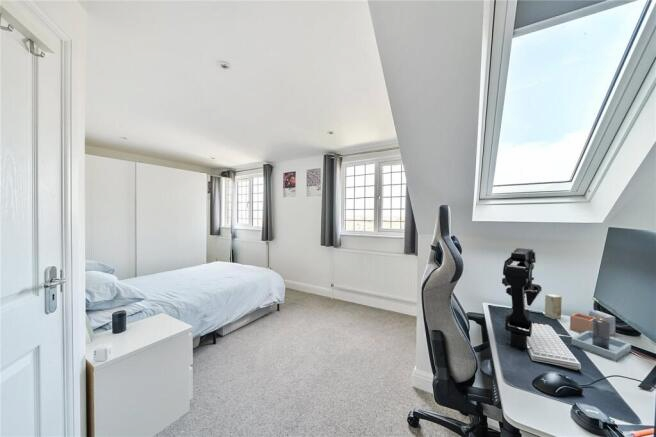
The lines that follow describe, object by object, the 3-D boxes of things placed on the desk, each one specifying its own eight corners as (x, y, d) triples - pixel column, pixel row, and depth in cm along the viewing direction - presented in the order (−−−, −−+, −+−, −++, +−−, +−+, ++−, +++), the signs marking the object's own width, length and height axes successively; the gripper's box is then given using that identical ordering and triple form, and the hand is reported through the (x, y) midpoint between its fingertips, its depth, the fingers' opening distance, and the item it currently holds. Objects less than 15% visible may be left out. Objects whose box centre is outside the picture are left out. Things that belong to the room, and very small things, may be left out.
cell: (600, 349, 101) (601, 321, 101) (588, 343, 106) (589, 316, 106) (612, 350, 101) (613, 321, 101) (600, 343, 106) (601, 316, 105)
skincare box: (553, 319, 131) (553, 297, 130) (544, 316, 135) (544, 294, 135) (561, 318, 133) (562, 296, 132) (552, 315, 137) (552, 293, 136)
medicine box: (615, 335, 114) (616, 317, 114) (606, 335, 114) (606, 317, 114) (597, 327, 122) (597, 310, 122) (588, 327, 122) (588, 310, 122)
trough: (615, 361, 94) (616, 353, 94) (571, 344, 106) (571, 338, 106) (630, 351, 101) (631, 344, 101) (587, 336, 113) (587, 330, 113)
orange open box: (589, 335, 114) (590, 320, 114) (570, 329, 120) (570, 315, 120) (596, 332, 117) (596, 318, 117) (576, 326, 123) (576, 312, 123)
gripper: (516, 269, 126) (515, 298, 127) (494, 273, 118) (494, 304, 119) (542, 274, 116) (541, 306, 117) (520, 278, 108) (520, 313, 109)
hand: (523, 307), depth 115 cm, fingers open, 9 cm apart
